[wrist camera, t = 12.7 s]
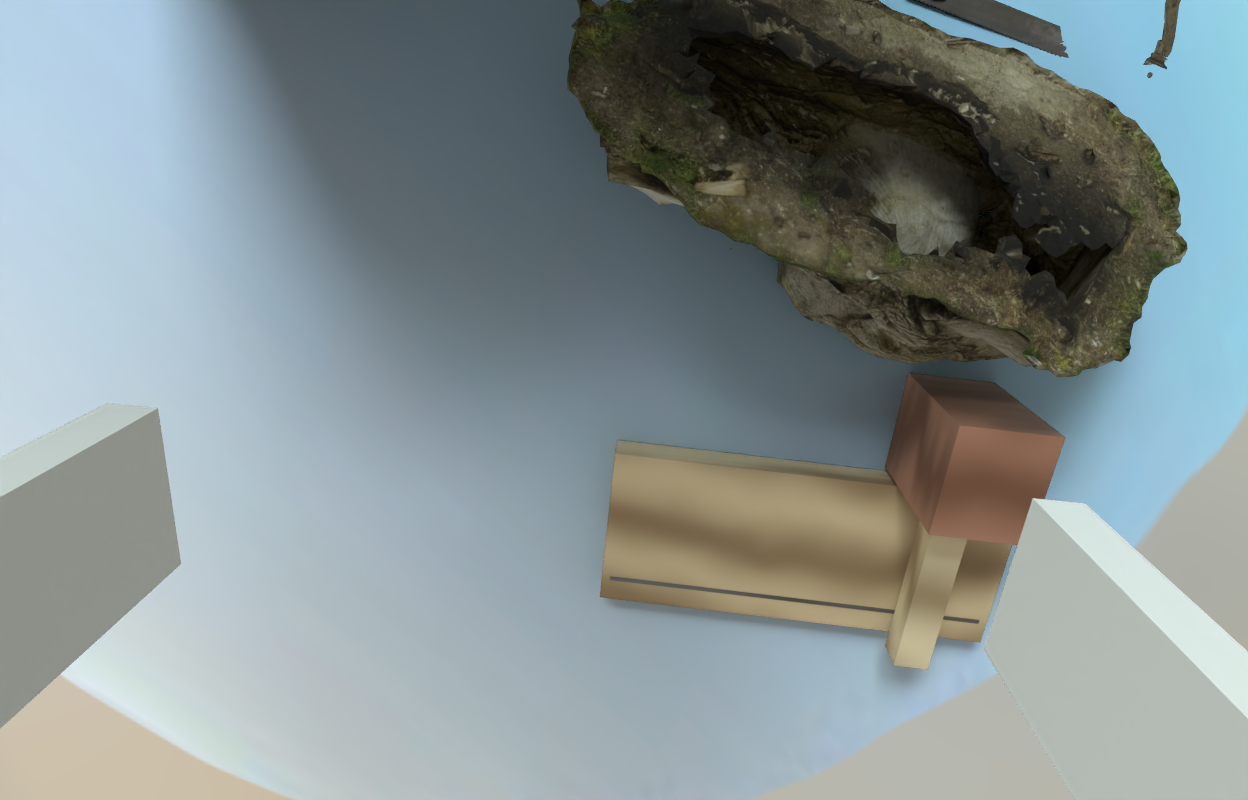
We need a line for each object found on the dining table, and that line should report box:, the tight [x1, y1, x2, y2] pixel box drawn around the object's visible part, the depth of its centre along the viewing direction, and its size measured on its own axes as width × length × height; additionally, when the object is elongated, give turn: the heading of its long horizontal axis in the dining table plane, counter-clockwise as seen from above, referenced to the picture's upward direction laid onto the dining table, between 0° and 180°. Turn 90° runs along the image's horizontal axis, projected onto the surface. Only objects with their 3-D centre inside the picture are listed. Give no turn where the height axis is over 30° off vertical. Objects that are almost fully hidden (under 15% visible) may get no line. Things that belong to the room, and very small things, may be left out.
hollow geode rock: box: [567, 0, 1187, 377], centre depth 34 cm, size 28×13×15 cm
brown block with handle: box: [885, 373, 1065, 669], centre depth 42 cm, size 16×5×8 cm, turn 174°
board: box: [600, 440, 1012, 642], centre depth 46 cm, size 10×24×2 cm, turn 84°
